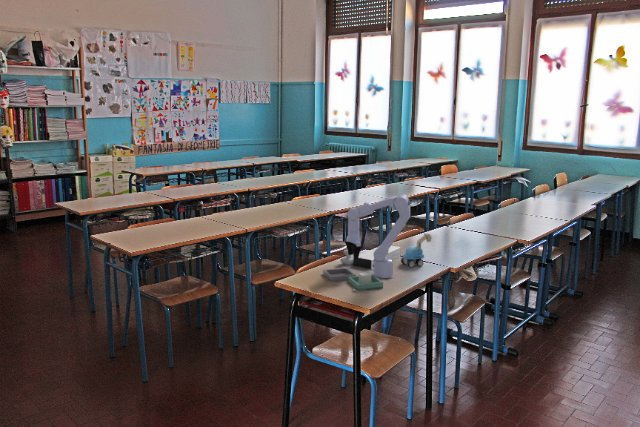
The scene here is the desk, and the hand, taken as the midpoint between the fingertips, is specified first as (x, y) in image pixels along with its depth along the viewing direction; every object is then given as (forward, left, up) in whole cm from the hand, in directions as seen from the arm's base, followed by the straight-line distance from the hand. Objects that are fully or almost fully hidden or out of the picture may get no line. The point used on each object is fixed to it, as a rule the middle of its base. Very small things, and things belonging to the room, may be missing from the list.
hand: (353, 256), depth 289 cm
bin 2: (+1, +19, -9) cm, 21 cm away
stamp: (-4, -17, -10) cm, 20 cm away
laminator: (-22, -17, -10) cm, 30 cm away
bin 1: (+9, +4, -9) cm, 14 cm away
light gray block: (+1, +19, -9) cm, 21 cm away
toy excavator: (-40, -6, -10) cm, 42 cm away
